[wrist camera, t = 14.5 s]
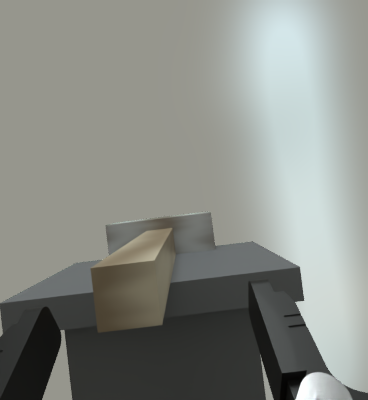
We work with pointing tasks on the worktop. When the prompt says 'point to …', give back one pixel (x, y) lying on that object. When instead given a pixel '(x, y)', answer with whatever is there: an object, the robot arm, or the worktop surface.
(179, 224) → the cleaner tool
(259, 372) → the stand
